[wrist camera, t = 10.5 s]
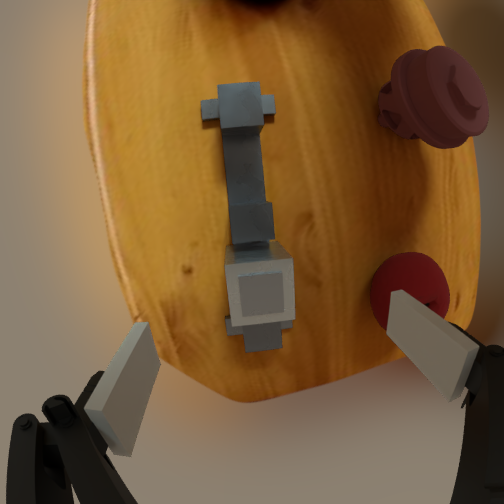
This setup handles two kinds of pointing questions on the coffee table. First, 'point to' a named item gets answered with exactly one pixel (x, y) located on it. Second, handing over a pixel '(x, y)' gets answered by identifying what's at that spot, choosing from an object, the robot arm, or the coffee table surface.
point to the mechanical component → (434, 98)
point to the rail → (246, 185)
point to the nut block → (259, 283)
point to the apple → (409, 284)
